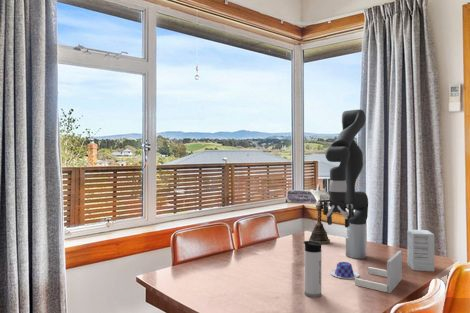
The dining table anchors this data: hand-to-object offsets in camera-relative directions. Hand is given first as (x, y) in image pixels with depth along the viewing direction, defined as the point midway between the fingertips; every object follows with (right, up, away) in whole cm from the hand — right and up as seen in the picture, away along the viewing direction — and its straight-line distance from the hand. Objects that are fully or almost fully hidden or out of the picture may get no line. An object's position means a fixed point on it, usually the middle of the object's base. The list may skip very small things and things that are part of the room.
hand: (338, 225), depth 161 cm
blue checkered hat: (+1, -21, -6) cm, 22 cm away
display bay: (+12, -20, -15) cm, 28 cm away
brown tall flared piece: (+5, -20, +48) cm, 52 cm away
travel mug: (-18, -21, -27) cm, 38 cm away
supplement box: (+39, -20, +3) cm, 44 cm away
